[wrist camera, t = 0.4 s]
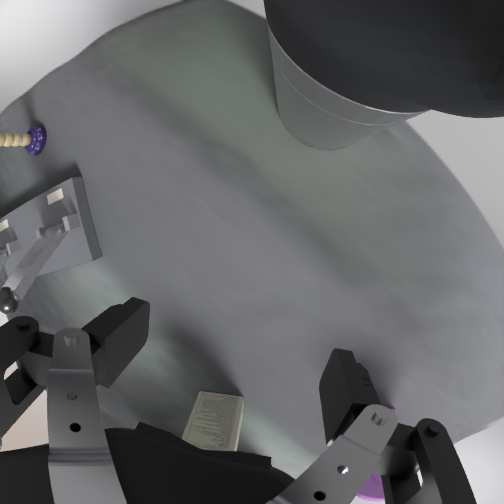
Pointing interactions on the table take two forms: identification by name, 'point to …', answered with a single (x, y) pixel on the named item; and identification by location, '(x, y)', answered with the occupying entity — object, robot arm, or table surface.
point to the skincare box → (215, 422)
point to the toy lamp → (26, 139)
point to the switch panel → (46, 216)
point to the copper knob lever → (4, 257)
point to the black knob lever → (30, 268)
